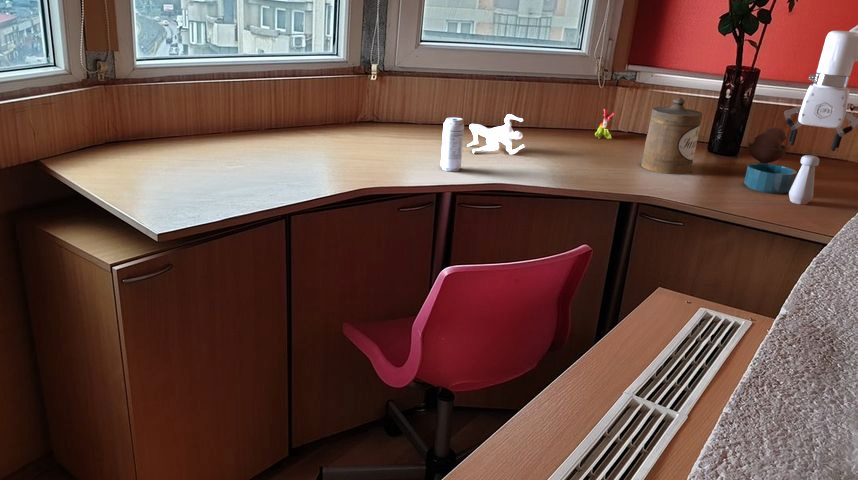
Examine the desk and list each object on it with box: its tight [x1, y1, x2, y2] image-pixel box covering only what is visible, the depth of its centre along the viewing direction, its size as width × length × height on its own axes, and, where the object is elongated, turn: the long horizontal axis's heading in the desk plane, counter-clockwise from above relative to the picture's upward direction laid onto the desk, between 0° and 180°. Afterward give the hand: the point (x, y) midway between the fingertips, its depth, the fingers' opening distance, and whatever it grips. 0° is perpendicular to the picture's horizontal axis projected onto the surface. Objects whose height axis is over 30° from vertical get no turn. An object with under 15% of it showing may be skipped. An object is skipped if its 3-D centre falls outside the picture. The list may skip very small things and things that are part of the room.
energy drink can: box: [440, 116, 465, 172], centre depth 211 cm, size 6×6×15 cm
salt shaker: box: [788, 154, 820, 205], centre depth 193 cm, size 6×6×13 cm
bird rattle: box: [594, 108, 616, 140], centre depth 264 cm, size 6×11×9 cm
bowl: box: [743, 162, 798, 195], centre depth 207 cm, size 13×13×6 cm
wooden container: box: [640, 97, 703, 175], centre depth 222 cm, size 15×15×22 cm
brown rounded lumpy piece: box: [747, 126, 789, 164], centre depth 220 cm, size 11×11×15 cm
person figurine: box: [466, 113, 526, 156], centre depth 237 cm, size 13×13×18 cm
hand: (812, 147), depth 190 cm, fingers open, 9 cm apart
